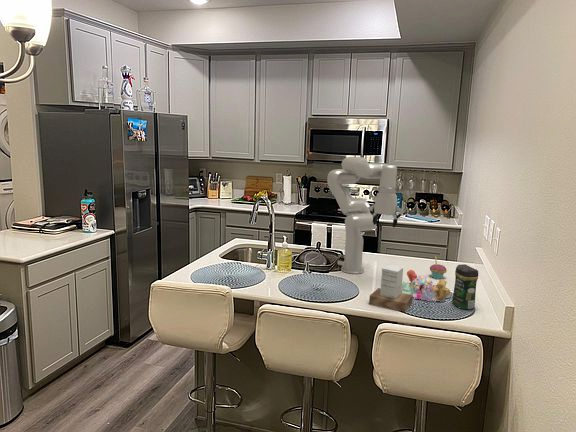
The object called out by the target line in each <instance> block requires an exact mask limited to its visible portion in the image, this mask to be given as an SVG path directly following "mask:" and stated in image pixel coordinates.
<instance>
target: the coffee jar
mask: <svg viewBox="0 0 576 432" xmlns="http://www.w3.org/2000/svg"><path fill="white" fill-rule="evenodd" d="M454 274H455V278H454V279H455V281H454V287H453V293H452V300H451V303H452V304H453V305H454V306H455V305H456V307H457V308H459V307H460V308H459V309H461V308H462V310H466V309H470V310H473V309H475V307H476V290H477V283H478V279H479V270H477V269H476V268H474V267H471V266H470V265H467V264H466V263H465V264H464V263H463V264H458V265H456V267H455V273H454Z"/></svg>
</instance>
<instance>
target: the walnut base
mask: <svg viewBox="0 0 576 432" xmlns="http://www.w3.org/2000/svg"><path fill="white" fill-rule="evenodd" d="M380 290H381V287H379V288H377V289H375V290H374V291H373V292H372V293H371V294H370V295H369V297H368V299H369V300H368V305H371V306H374V307H378V308H379V307H380V308H384V309H389V310H393V311H397V312H401V311H403V312H402V313H406V312H407V311H406V310H409V308H410V307H411V306H412V304H413V299H414V298H413V295H410V294H405V293H401V295H400V296H399V297H397V298H396V299H393V298H389V297H385V296H381V295H380ZM410 305H411V306H410ZM409 306H410V307H409ZM408 307H409V308H408ZM405 311H406V312H405Z"/></svg>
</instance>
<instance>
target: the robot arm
mask: <svg viewBox="0 0 576 432" xmlns="http://www.w3.org/2000/svg"><path fill="white" fill-rule="evenodd" d="M397 174H398V166H396V165H394V164H388V163H386V162H385V163H382V162H381V163H380V162H378V163H377V162H374V163H373V162H371V163H369V162H368V160H367V159H366V158H365V157H363V156H347V157H345V158H344V159H343V160H342V162H341V168H338V169H332V170H330V171H329V172H328V174H327V179H326V180H327V186H328V188H329V190H330V192H331V194H332V195H333V196H334V198H335V200H336V202H337V204H338V206H339V208H340V210H341V212H342V214H343V215H345V216H346V217H345V219H344V227H345V247H344V260H337V265H338V266H341V268H340V270H341V271H342V272H343V273H346V274H352V275H359V274H363V273H365V268H364V267H362V266H363V252H364V251H363V250H364V237H363V235H362V233H361V232H367V231H372V230H374V229H376V227H377V224H378V214H379V215H385V216H392V218H393V221H392V228H396V227H397V226H398V219H399V218H401V217H402V216H403V214H404V213H405V212H404V210H403V209H402V208H400V207H399V206H398V197H397V194H396V190H397V189H396V188H397V187H396V186H397V177H398V175H397ZM361 178H362V179H366V180H367V179H369V180H370V179H371V180H373V179H374V180H375V179H378V180H379V187H376V191H378V192H377V193H376V195H375V196H376V197H375V202H374V204H373V205H370V203H369V201H368V200H366V199H365V198H363V197H353V196H352V195H351V192H350V190H349V189H348V188H347V187H345V186H344V185H353V184H356V183H358V182H359V180H361ZM397 212H398V213H397Z"/></svg>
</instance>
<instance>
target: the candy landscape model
mask: <svg viewBox="0 0 576 432" xmlns="http://www.w3.org/2000/svg"><path fill="white" fill-rule="evenodd" d="M406 276H407V278H408V279H409V282H407V281H402V290H401V292H402V293H405V294H410V295H413V297H414V298H415V300H416V299H422V300H429V301H430V300H436V301H440V302H445V301H446V299H448V298H451V297H452V295H451V290H450V288H447V287H446V286H447V283H448V281H446V280H445V279H443V278H441V279H439V280H438V283H437V284H434V283H433V280H432V279H431V278H428V277H427V276H426V275H418V274H416V272H415V270H413V269H409V270H408V271H407V272H406ZM414 298H413V299H414ZM422 300H421V301H422ZM429 301H428V302H429ZM436 301H435V302H436ZM430 302H431V301H430ZM440 302H439V303H440Z"/></svg>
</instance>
